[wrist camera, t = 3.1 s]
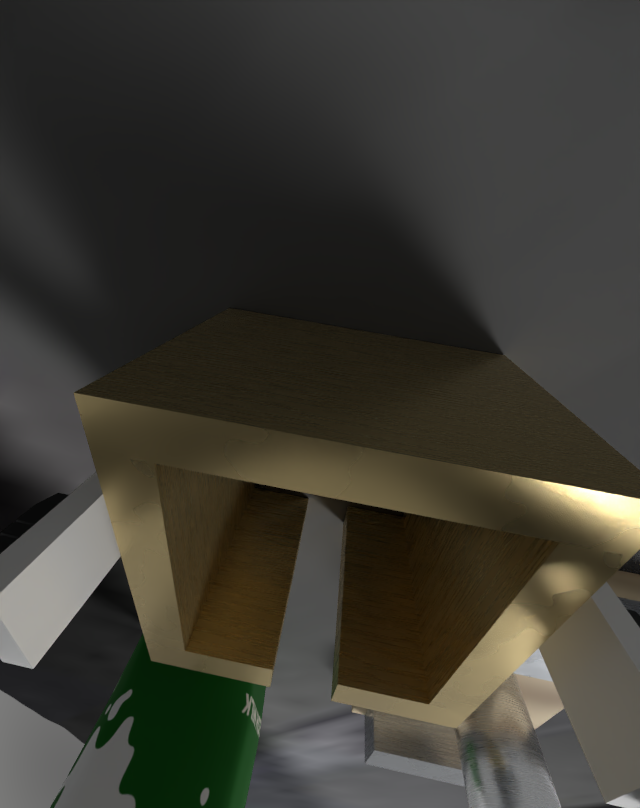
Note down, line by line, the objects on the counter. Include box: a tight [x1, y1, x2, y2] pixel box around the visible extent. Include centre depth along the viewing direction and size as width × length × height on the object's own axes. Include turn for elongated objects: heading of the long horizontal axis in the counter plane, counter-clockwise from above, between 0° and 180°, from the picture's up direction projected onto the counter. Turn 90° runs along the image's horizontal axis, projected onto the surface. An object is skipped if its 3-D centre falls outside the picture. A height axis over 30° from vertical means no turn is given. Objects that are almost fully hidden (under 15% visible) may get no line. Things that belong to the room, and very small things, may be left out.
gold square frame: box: [74, 308, 640, 728], centre depth 11 cm, size 10×10×7 cm
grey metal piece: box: [365, 597, 640, 808], centre depth 16 cm, size 19×10×7 cm, turn 172°
